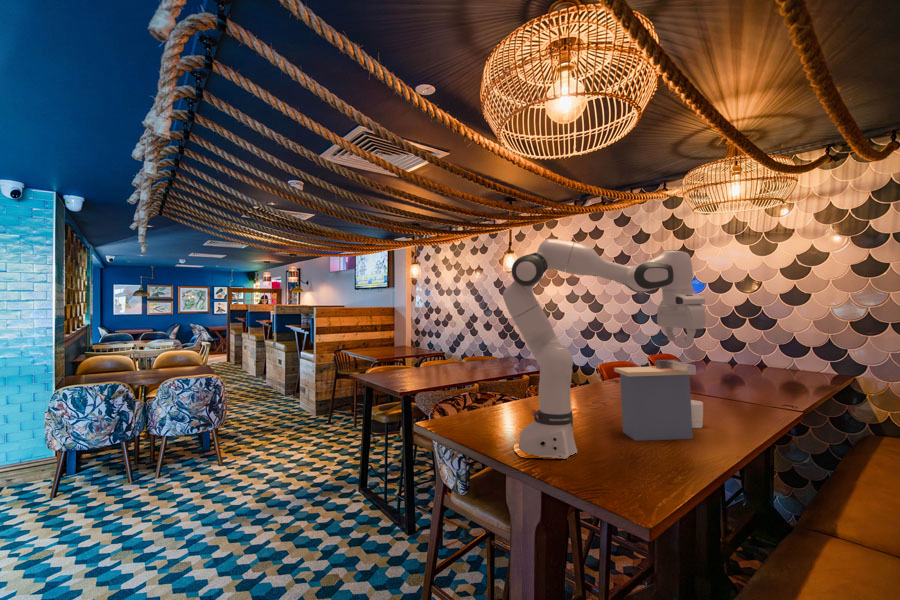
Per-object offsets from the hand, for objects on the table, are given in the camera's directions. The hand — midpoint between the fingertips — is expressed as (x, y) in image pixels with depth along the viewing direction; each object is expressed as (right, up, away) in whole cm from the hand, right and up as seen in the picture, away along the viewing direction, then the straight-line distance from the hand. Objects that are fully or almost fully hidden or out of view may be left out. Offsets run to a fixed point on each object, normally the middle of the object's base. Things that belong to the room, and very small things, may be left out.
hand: (679, 341), depth 123 cm
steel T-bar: (+11, -13, +20) cm, 26 cm away
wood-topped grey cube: (+6, -40, +25) cm, 47 cm away
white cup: (+27, -40, +35) cm, 59 cm away
